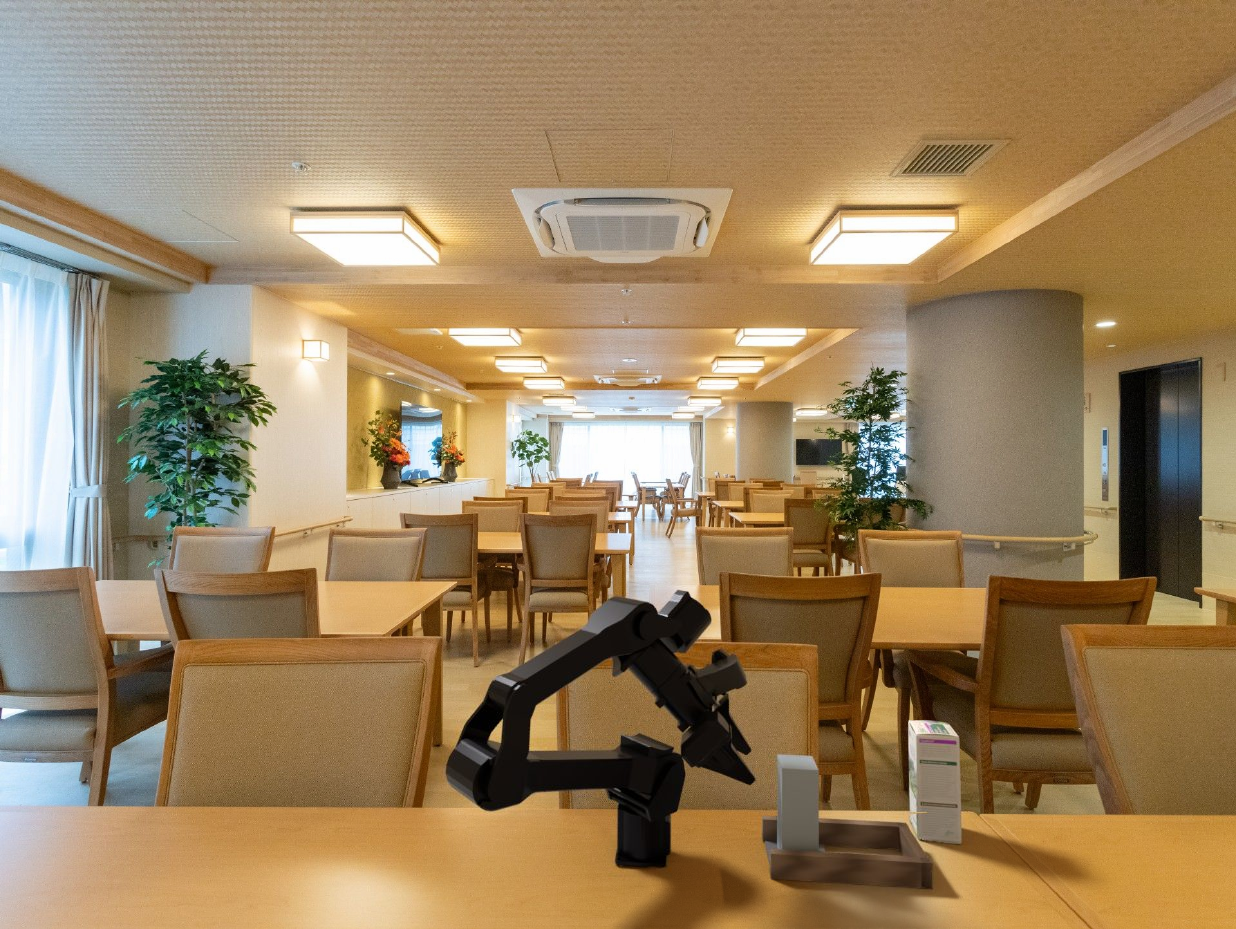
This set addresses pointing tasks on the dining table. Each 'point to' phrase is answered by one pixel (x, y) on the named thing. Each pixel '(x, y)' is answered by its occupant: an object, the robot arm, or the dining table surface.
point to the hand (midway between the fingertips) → (751, 766)
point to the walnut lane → (852, 855)
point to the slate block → (797, 803)
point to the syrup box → (934, 781)
